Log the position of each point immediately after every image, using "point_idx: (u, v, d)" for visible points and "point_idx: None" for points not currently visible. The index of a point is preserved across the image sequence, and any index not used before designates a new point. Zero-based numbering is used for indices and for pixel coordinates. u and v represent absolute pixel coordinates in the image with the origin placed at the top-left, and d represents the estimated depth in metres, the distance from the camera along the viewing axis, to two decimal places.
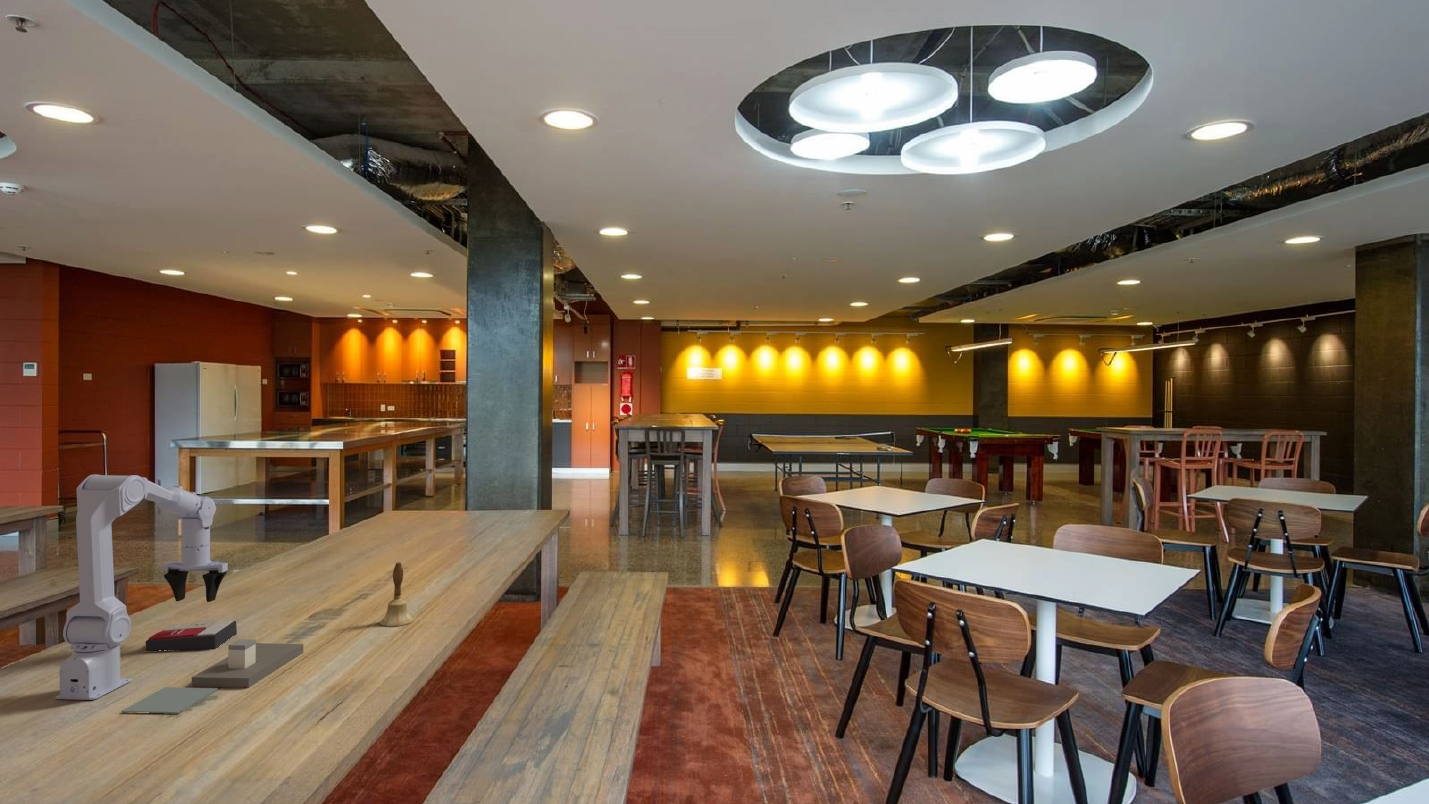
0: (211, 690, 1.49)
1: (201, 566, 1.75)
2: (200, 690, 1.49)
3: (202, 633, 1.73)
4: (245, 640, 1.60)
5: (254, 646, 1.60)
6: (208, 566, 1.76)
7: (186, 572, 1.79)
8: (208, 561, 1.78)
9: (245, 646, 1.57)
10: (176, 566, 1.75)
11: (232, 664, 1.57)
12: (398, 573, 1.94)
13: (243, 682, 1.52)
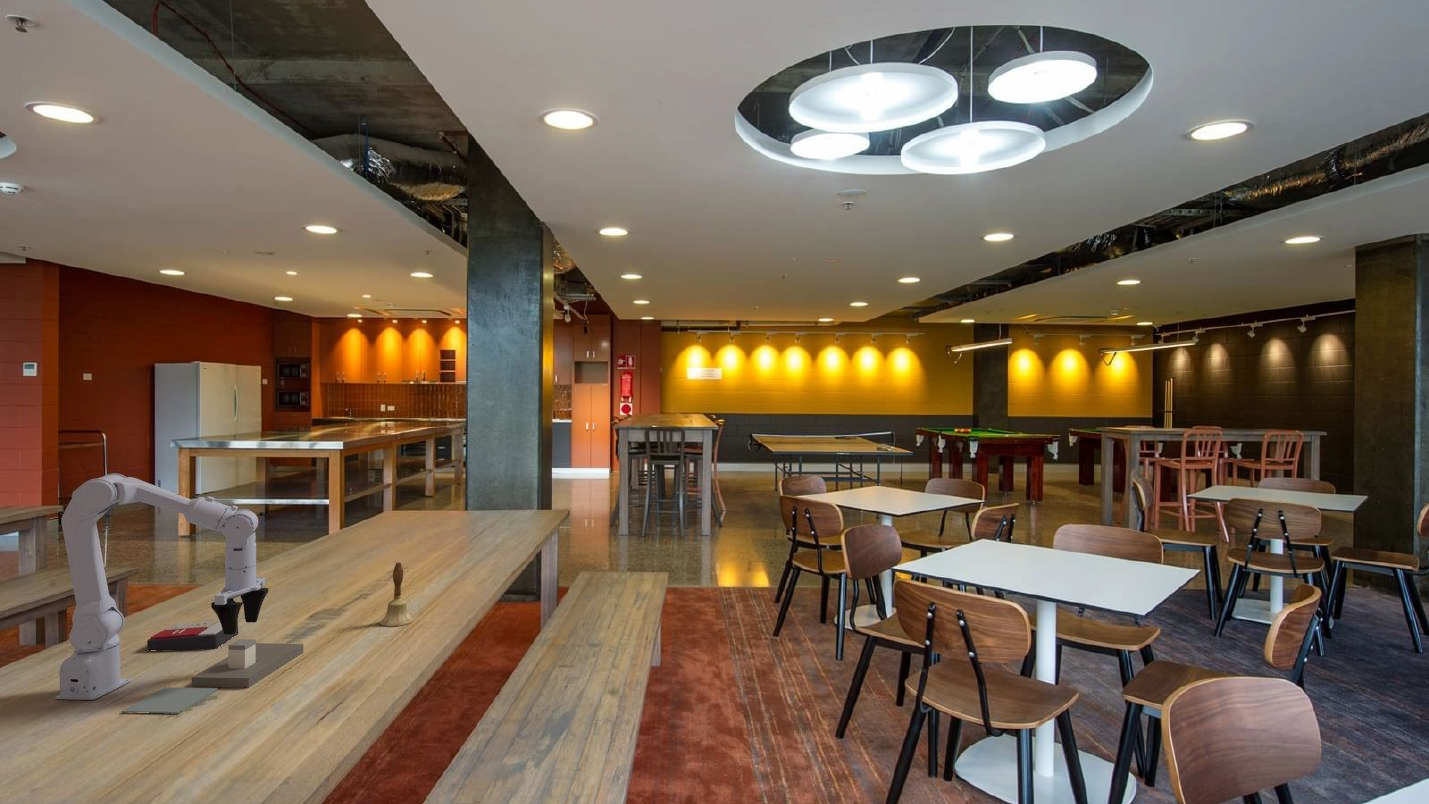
0: (211, 690, 1.49)
1: (222, 590, 1.56)
2: (200, 690, 1.49)
3: (204, 633, 1.73)
4: (245, 640, 1.60)
5: (254, 646, 1.60)
6: None
7: (259, 594, 1.63)
8: (235, 588, 1.56)
9: (245, 646, 1.57)
10: None
11: (232, 664, 1.57)
12: (398, 573, 1.94)
13: (243, 682, 1.52)
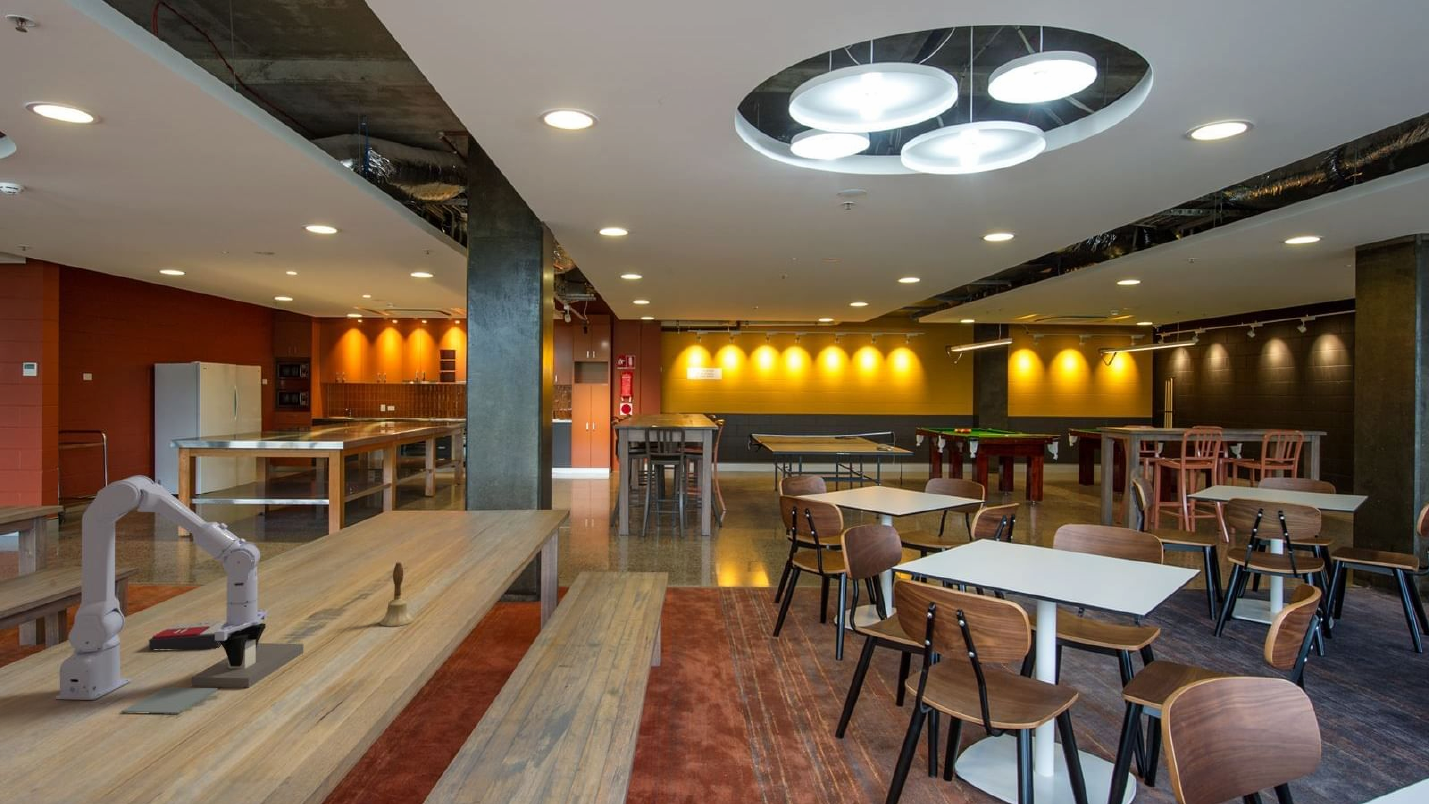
0: (211, 690, 1.49)
1: (223, 625, 1.56)
2: (200, 690, 1.49)
3: (205, 633, 1.74)
4: None
5: (254, 646, 1.60)
6: None
7: (256, 630, 1.61)
8: (236, 623, 1.56)
9: (245, 646, 1.57)
10: None
11: None
12: (398, 573, 1.94)
13: (243, 682, 1.52)
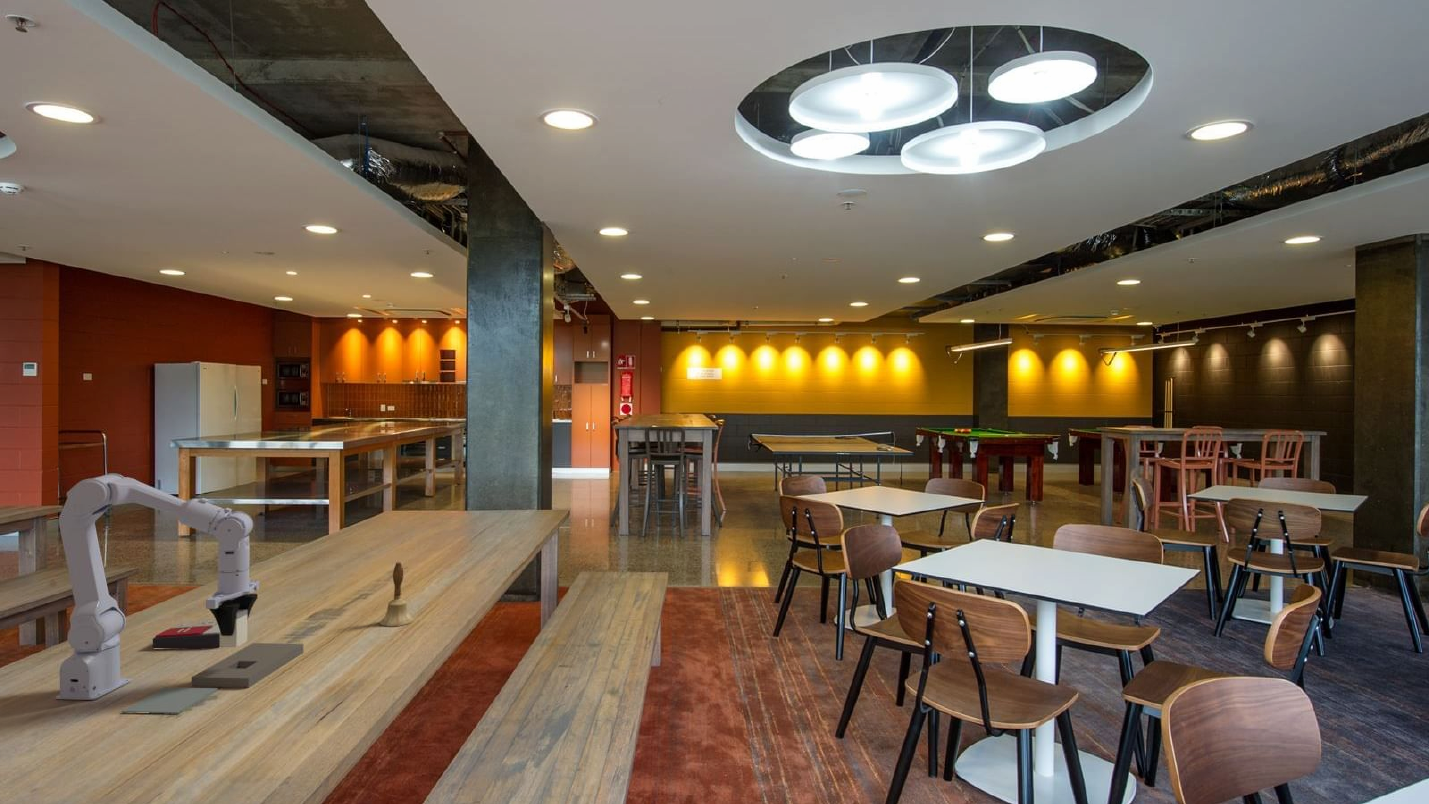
0: (211, 690, 1.49)
1: None
2: (200, 690, 1.49)
3: (208, 632, 1.74)
4: None
5: (246, 616, 1.58)
6: None
7: (248, 600, 1.59)
8: (227, 591, 1.54)
9: (237, 615, 1.55)
10: None
11: None
12: (398, 573, 1.94)
13: (243, 682, 1.52)
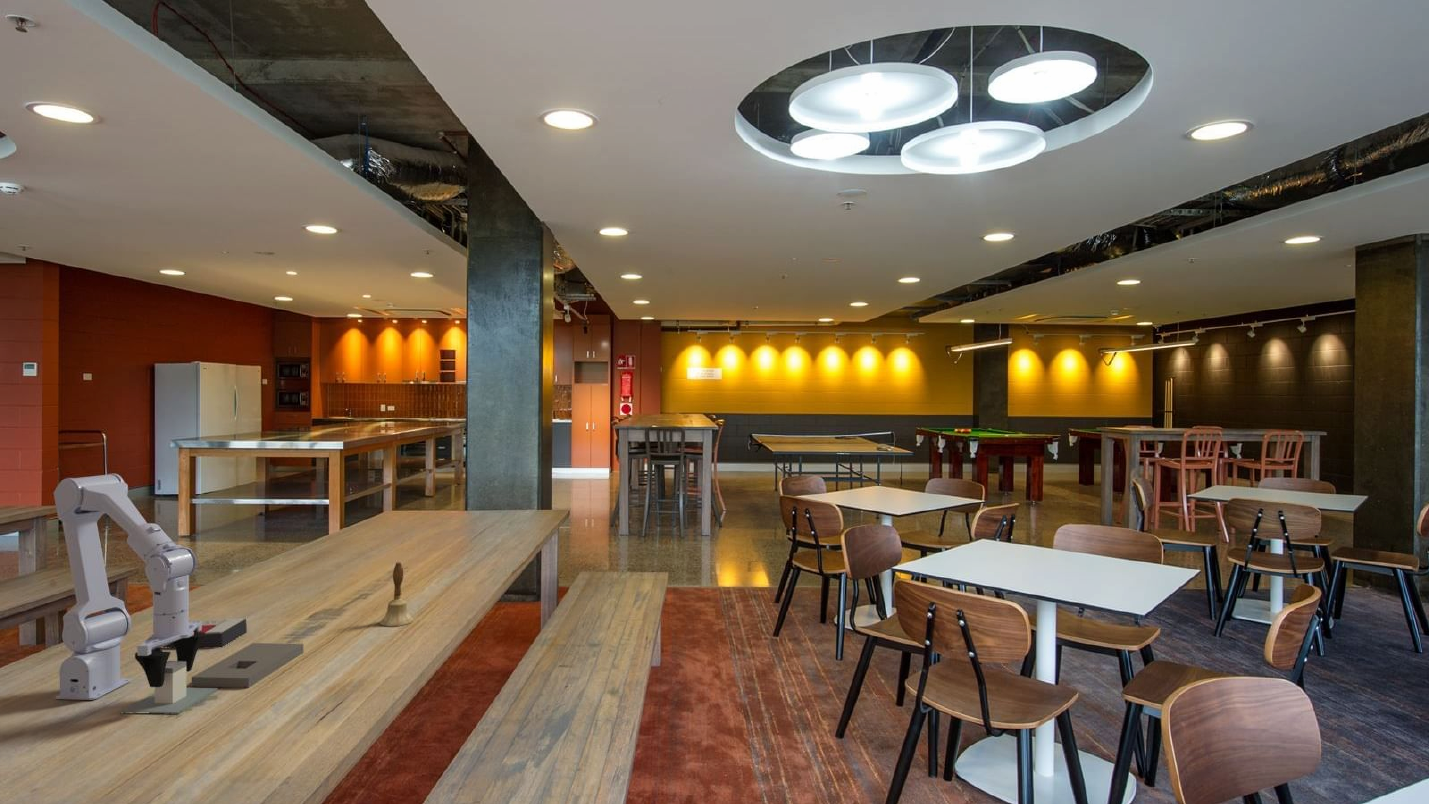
0: (211, 690, 1.49)
1: None
2: (200, 690, 1.49)
3: (210, 631, 1.75)
4: (174, 662, 1.46)
5: (184, 668, 1.46)
6: None
7: (194, 640, 1.48)
8: (163, 635, 1.42)
9: (173, 669, 1.43)
10: None
11: (158, 688, 1.43)
12: (398, 573, 1.94)
13: (243, 682, 1.52)
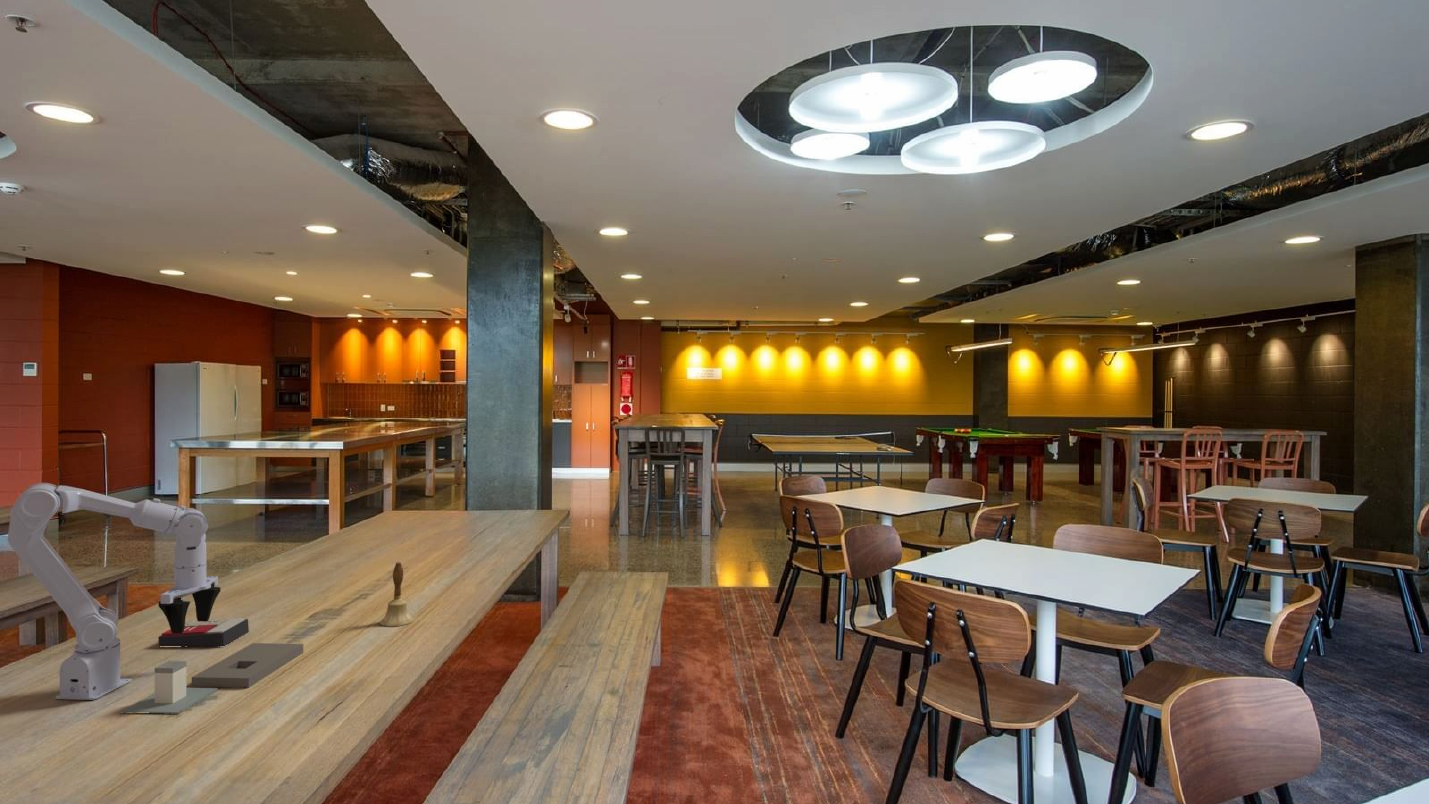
0: (211, 690, 1.49)
1: None
2: (200, 690, 1.49)
3: (212, 631, 1.75)
4: (174, 662, 1.46)
5: (184, 668, 1.46)
6: None
7: (211, 593, 1.63)
8: (183, 587, 1.56)
9: (173, 669, 1.43)
10: None
11: (158, 688, 1.43)
12: (398, 573, 1.94)
13: (243, 682, 1.52)
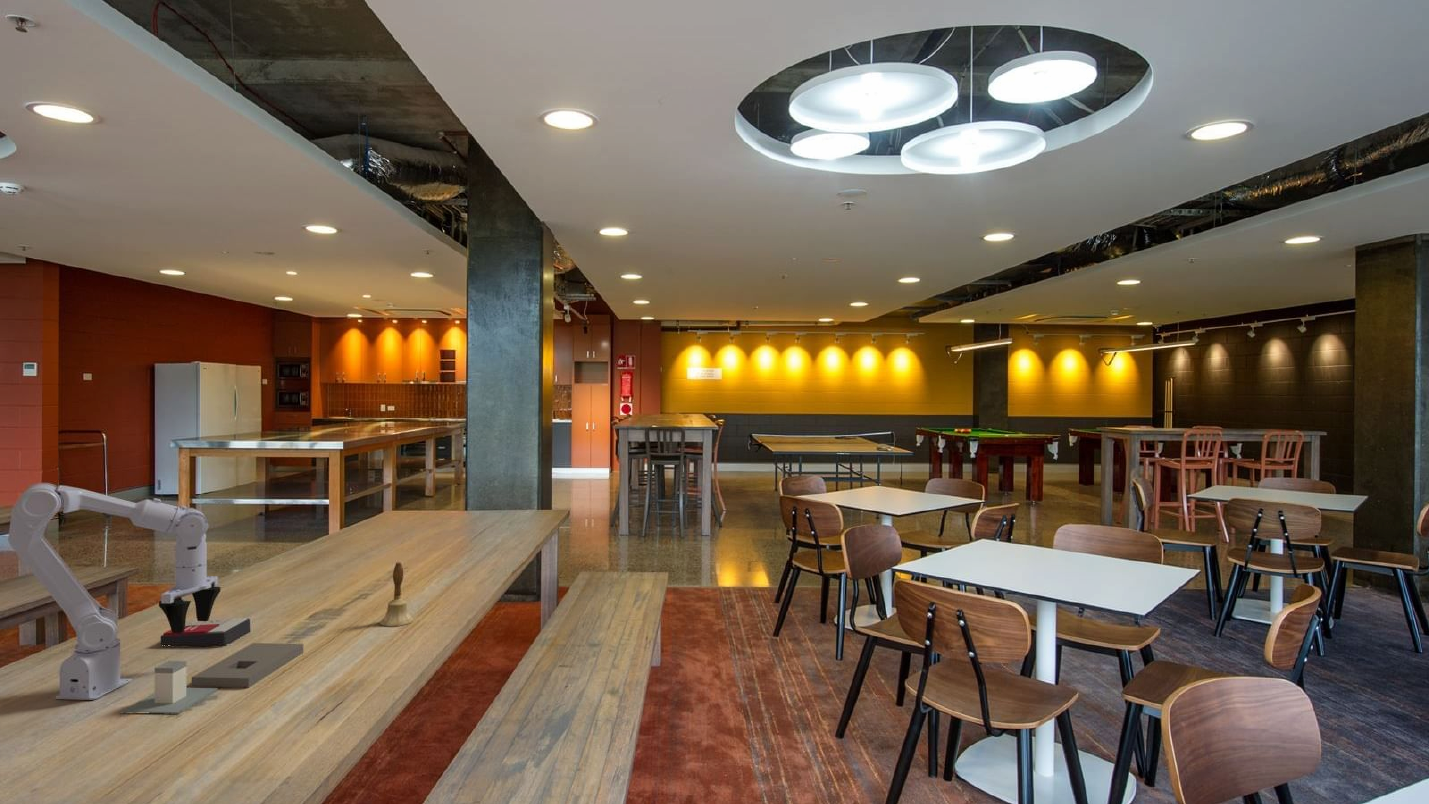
0: (211, 690, 1.49)
1: None
2: (200, 690, 1.49)
3: (213, 631, 1.75)
4: (174, 662, 1.46)
5: (184, 668, 1.46)
6: None
7: (211, 593, 1.63)
8: (183, 586, 1.57)
9: (173, 669, 1.43)
10: None
11: (158, 688, 1.43)
12: (398, 573, 1.94)
13: (243, 682, 1.52)
